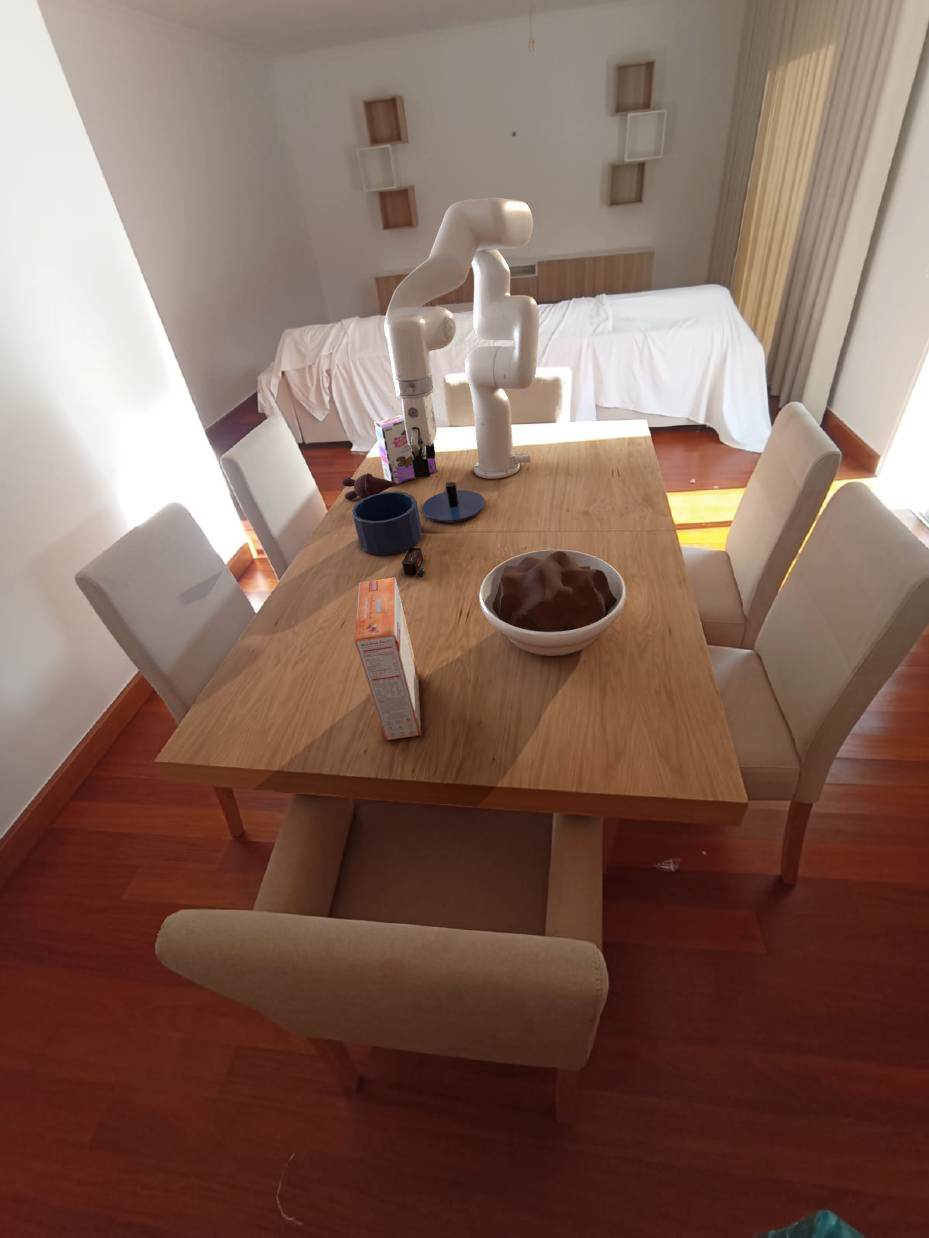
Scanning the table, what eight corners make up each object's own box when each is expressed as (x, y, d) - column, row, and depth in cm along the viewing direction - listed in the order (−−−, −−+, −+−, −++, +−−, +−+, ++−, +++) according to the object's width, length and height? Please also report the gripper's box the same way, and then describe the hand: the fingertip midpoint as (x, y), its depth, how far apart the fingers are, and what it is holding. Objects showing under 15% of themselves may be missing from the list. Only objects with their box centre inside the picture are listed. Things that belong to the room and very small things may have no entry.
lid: (486, 492, 154) (484, 468, 150) (483, 522, 142) (481, 496, 138) (426, 496, 156) (422, 472, 152) (419, 526, 144) (414, 501, 140)
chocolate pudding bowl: (495, 587, 121) (489, 522, 111) (623, 591, 115) (628, 522, 106) (471, 673, 102) (461, 603, 93) (623, 683, 96) (628, 609, 87)
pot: (425, 521, 146) (419, 489, 140) (417, 553, 134) (411, 520, 129) (366, 525, 148) (359, 493, 142) (354, 557, 136) (345, 524, 131)
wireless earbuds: (402, 578, 127) (400, 565, 125) (412, 560, 132) (409, 547, 130) (423, 579, 126) (421, 566, 124) (432, 560, 131) (430, 548, 129)
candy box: (392, 486, 163) (381, 427, 153) (384, 479, 167) (372, 421, 157) (437, 471, 168) (428, 413, 157) (428, 465, 172) (419, 407, 162)
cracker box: (384, 680, 103) (358, 580, 90) (419, 675, 103) (397, 574, 90) (383, 742, 92) (352, 639, 79) (421, 737, 92) (397, 633, 79)
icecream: (397, 467, 157) (345, 473, 161) (389, 472, 151) (334, 479, 154) (402, 493, 160) (351, 499, 164) (394, 499, 153) (340, 505, 157)
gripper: (426, 397, 111) (438, 483, 121) (437, 371, 125) (446, 451, 135) (387, 400, 112) (402, 485, 122) (402, 374, 126) (414, 453, 136)
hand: (425, 467), depth 129 cm, fingers open, 9 cm apart
